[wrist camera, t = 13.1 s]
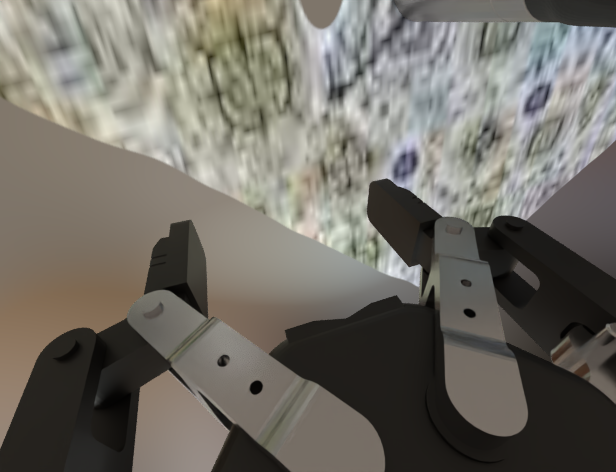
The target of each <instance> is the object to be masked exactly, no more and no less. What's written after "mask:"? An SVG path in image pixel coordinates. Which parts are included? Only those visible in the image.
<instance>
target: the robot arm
mask: <svg viewBox="0 0 616 472" xmlns="http://www.w3.org/2000/svg"><path fill="white" fill-rule="evenodd" d="M395 4H396V6H397V8H398V10H399V12H400V13H401V14H402V15H403V16H404V17H405V18H407V19H408V20H410V21H415V22H560V23H563V24H567V25H573V26H593V27H614V28H616V0H395ZM367 215H368V218H369V221H370V222H371V223H372V225H373V226H374V227H375V228H376V229H377V230H378V232H379V233H380V234H381V235H382V236H383V237H384V239H385V240H386V241H387V242H388V243H389V244H390V246H391V247H392V248H393V249H394V250H395V251H396V253H397V254H398V255H399V256H400V257H401V258H402V260H403V261H404V262H405V263H406V264H407V265H408V266H409V267H411V266H415V265H418V264H420V265H421V266H422V268H421V272H420V287H419V288H420V289H419V304H410V303H402V302H401V301H400V299H399V298H398V297H397V295H396V296H393V297H389V298H386V299H383V300H380V301H377V302H374V303H371V304H369V305H368V306H366V307H364V308H363V309H361V310H360V311H358V312H356V313H355V314H353V315H352V316H350V317H348V318H346V319H335V320H320V321H312V322H309V323H306V324H303V325H300V326H296V327H294V328H290V329H287V330H285V333H286V338H287V339H286V340H285V341H283V342H282V343H280V344H279V345H278V346H277V347H275V348H274V349H273V350H272V351H271V352H270V353H269V354H267V353H266V352H264V351H263V350H261V349H260V348H259V347H257V346H256V345H255V344H253V343H252V342H250V341H249V340H248V339H246V338H245V337H243V336H242V335H241V334H239V333H238V332H236V331H235V330H234V329H232V328H231V327H229V326H228V325H227V324H225V323H224V322H222V321H221V320H220V319H218V318H216V317H212V318H211V319H210V320H209V319H208V302H207V274H206V258H205V253H204V250H203V248H202V245H201V242H200V240H199V237H198V235H197V232H196V229H195V227H194V225H193V222H192V221H191V220H186V221H182V222H177V223H172V224H171V226H170V234H169V237H166V238H161V239H160V240H159V241H158V242H157V244H156V245H155V246H154V248H153V251H152V256H151V258H152V259H151V261H150V268H149V272H148V277H147V282H146V287H145V292H144V296H142V297H141V298H139V299H138V300H137V301H136V302H135V303H134V304H133V305H132V306H131V308H130V309H129V311H128V314H127V318H126V319H124V320H123V321H121V322H119V323H117V324H115V325H113V326H111V327H109V328H107V329H105V330H104V331H101V332H100V333H97V334H96V333H95V332H94V331H93V330H92V329H90V328H77V329H73V330H71V331H68V332H66V333H64V334H62V335H60V336H59V337H57V338H56V339H54V340H53V341H52V342H51V343H49V345H47V346H46V347H45V349H44V350H43V351H42V352H41V353H40V355H39V357H38V359H37V360H36V363H35V365H34V368H33V371H32V373H31V375H30V378H29V380H28V383H27V385H26V388H25V390H24V393H23V395H22V397H21V400H20V402H19V405H18V407H17V409H16V412H15V414H14V417H13V419H12V422H11V424H10V427H9V429H8V431H7V434H6V436H5V439H4V441H3V444H2V446H1V449H0V472H132V466H133V455H134V445H135V434H136V423H137V412H138V401H139V392H140V387H141V386H143V385H144V384H146V383H147V382H149V381H150V380H152V379H154V378H155V377H157V376H159V375H160V374H161V373H163V372H165V371H167V370H168V371H169V372H170V373H171V374H172V375H173V376H174V377H175V378H176V379H177V380H178V381H179V382H180V383H181V384H182V385H183V386H184V387H185V388H186V389H187V390H188V391H189V392H190V393H191V394H192V395H193V396H194V397H195V398H196V399H197V400H198V401H199V402H200V403H201V404H202V405H203V406H204V407H205V408H206V409H207V410H208V412H209V413H210V414H211V415H212V416H213V417H214V418H215V419H216V420H217V421H218V422H219V423H220V424H221V425H222V426H223V427H224V428H225V429H226V430H227V431H228V432H229V434H228V436H227V438H226V441H225V443H224V445H223V447H222V449H221V451H220V454H219V456H218V458H217V460H216V462H215V464H214V466H213V469H212V471H211V472H616V279H614V278H613V277H611V276H610V275H608V274H607V273H605V272H603V271H602V270H601V269H599V268H598V267H596V266H595V265H593V264H591V263H590V262H588V261H587V260H585V259H584V258H582V257H581V256H579V255H578V254H576V253H575V252H573V251H571V250H570V249H569V248H567V247H566V246H564V245H563V244H561V243H559V242H558V241H556V240H555V239H553V238H552V237H550V236H549V235H547V234H546V233H544V232H543V231H541V230H540V229H538V228H537V227H535V226H533V225H532V224H531V223H529V222H527V221H525V220H523V219H521V218H518V217H514V216H498V217H496V218H495V219H494V220H493V222H492V224H491V226H490V227H473V226H472V225H471V224H469V223H468V222H467V221H465V220H462V219H460V218H456V217H442V216H441V215H439V214H438V213H437V212H436V211H434V210H433V209H432V208H431V207H429V206H428V205H427V204H426V203H423V201H422V200H421V199H419V198H417V196H416V195H414V194H413V193H412V192H411V191H409V190H407V189H404V188H402V187H398V186H397V185H395V184H394V183H393V182H392V181H391V180H389V179H382V180H377V181H373V182H371V183H370V186H369V196H368V206H367ZM518 261H520V262H521V263H522V264H523V265H525V266H526V267H527V268H528V269H530V270H531V271H532V272H533V273H534V274H536V276H537V277H538V279H539V281H540V287H539V289H538V290H537V291H536V290H535V289H534V288H533V287H532V286H530V285H529V284H528V283H527V282H526V281H525V280H523V279H522V278H521V277H520V276H519V275H518V274H516V273H515V272H514V271H513V269H514V268H515V266H516V265H517V263H518ZM497 303H498V304H499V305H500V306H501V307H502V308H503V309H504V310H505V311H506V312H507V313H508V314H509V315H510V317H512V318H513V319H514V321H515V322H516V323H518V325H519V326H520V327H521V328H522V329H523V330H524V331H525V332H526V333H527V334H528V335H529V336H530V337H531V338H532V339H533V340H534V341H535V342H536V343H537V344H538V345H539V346H540V347H541V348H542V349H543V350H544V351H545V352H546V353H547V354H548V355H549V356H550V357H551V359H552V361H553V363H551V362H548V361H546V360H544V359H542V358H539V357H538V356H535V355H533V354H531V353H529V352H527V351H524V350H522V349H520V348H518V347H515V346H513V345H511V344H509V343H507V342H505V337H504V332H503V328H502V323H501V318H500V314H499V309H498V304H497Z"/></svg>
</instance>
